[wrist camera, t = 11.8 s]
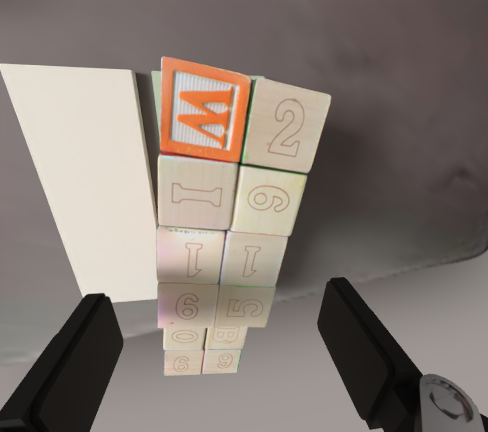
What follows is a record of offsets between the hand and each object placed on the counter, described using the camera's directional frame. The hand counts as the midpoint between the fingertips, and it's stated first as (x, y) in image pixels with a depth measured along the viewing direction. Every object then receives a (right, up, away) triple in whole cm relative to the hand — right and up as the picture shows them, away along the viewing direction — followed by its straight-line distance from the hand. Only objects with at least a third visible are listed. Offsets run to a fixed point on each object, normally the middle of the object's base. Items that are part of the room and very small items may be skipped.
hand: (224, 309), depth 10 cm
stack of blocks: (-2, +4, +13) cm, 14 cm away
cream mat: (-13, +5, +12) cm, 18 cm away
